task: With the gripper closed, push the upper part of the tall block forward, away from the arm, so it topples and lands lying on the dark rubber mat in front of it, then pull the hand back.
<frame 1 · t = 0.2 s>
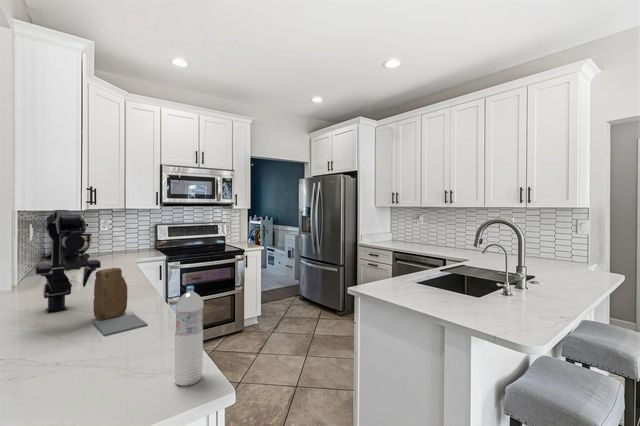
hand: (68, 288, 115), 14 cm above the counter, tool pointing down, fingers open, 9 cm apart
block: (110, 317, 126), on the counter
mat: (120, 324, 117), on the counter
water bottle: (188, 380, 81), on the counter
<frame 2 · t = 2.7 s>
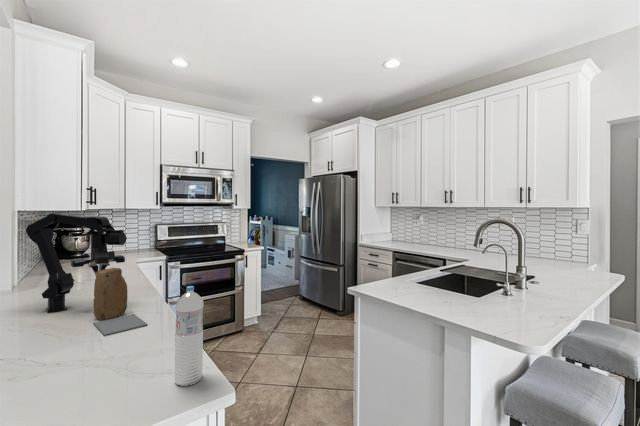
hand: (98, 280, 134), 13 cm above the counter, tool pointing down, fingers closed
nothing on the counter moved.
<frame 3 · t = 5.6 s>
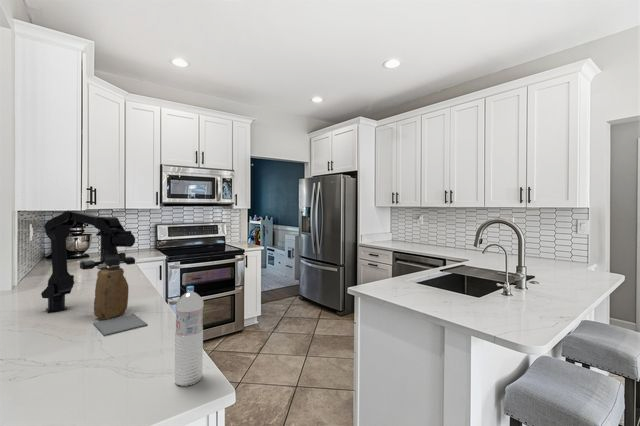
hand: (108, 282, 129), 13 cm above the counter, tool pointing down, fingers closed
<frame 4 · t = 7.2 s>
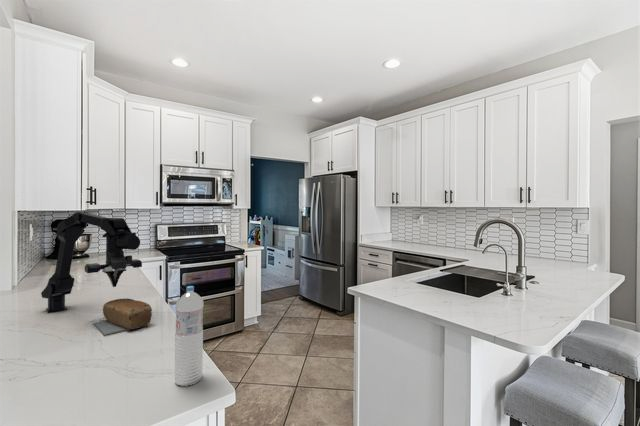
hand: (114, 286, 123), 13 cm above the counter, tool pointing down, fingers closed
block: (115, 307, 124), point 5 cm above the counter, touching mat
everything else where it was.
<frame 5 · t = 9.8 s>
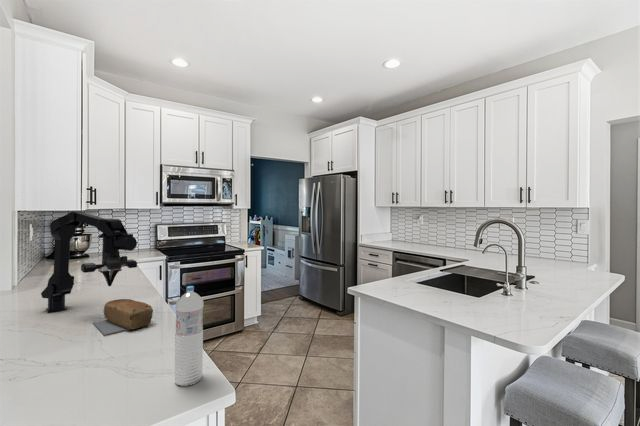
hand: (109, 286, 127), 12 cm above the counter, tool pointing down, fingers closed
nothing on the counter moved.
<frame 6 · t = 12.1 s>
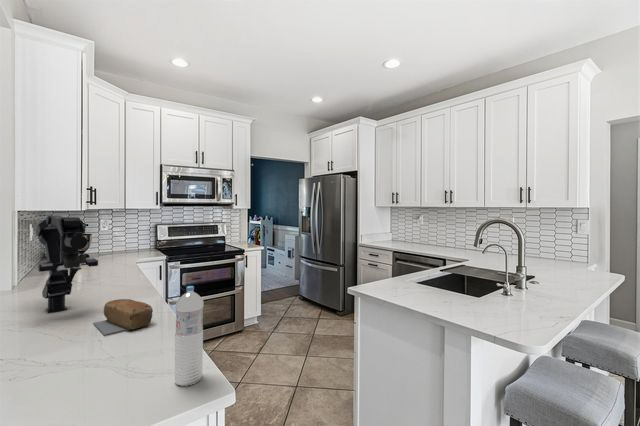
hand: (68, 285, 125), 13 cm above the counter, tool pointing down, fingers closed
nothing on the counter moved.
at the end: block tilted 91°; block touching mat; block inside the target area (5.7 cm from its centre), point 4.4 cm above the counter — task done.
